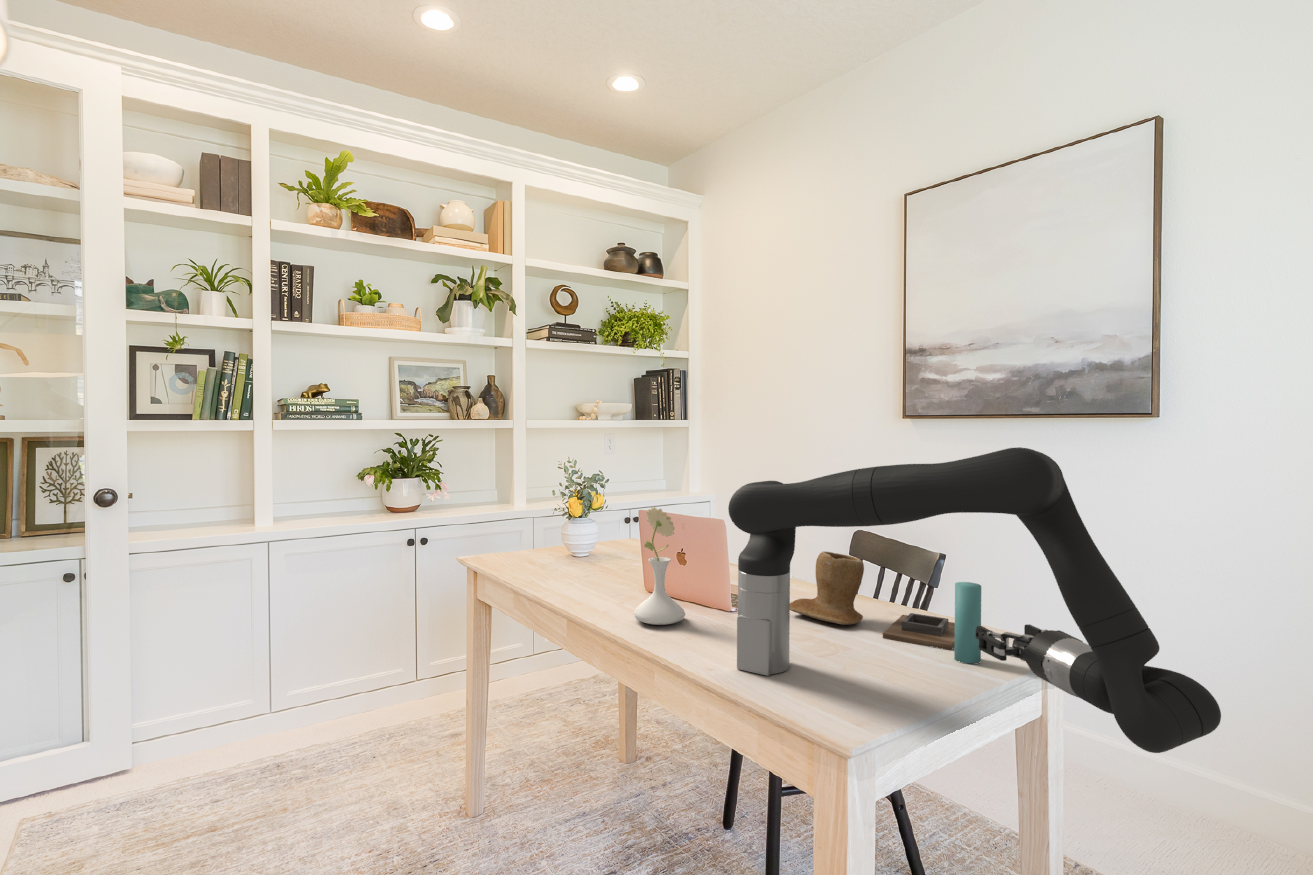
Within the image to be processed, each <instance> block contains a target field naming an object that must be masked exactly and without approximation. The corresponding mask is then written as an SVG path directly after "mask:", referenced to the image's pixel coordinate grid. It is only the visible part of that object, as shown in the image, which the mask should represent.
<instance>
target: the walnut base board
mask: <svg viewBox="0 0 1313 875" xmlns="http://www.w3.org/2000/svg"><path fill="white" fill-rule="evenodd" d="M882 639H886V640H891V641H896V642H897V641H898V642H903V643H909V644H914V645H920V646H925V647H930V646H933V647H932V648H936V647H938V648H937V649H941V648H943V650H948V651H952V650H953V649H954V648H955V622H952V621H949V618H945V617H940V616H934V615H933V616H932V615H926V614H919V613H913V612H910V613H909V614H901V615H900V616H899V617H898V618H897V619H896V620H895V621H894V622H893V623H892V624H891V625H890V626H889V627H888V628H886V629H885V630H884V631H883V632H882ZM952 648H953V649H952Z"/></svg>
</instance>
